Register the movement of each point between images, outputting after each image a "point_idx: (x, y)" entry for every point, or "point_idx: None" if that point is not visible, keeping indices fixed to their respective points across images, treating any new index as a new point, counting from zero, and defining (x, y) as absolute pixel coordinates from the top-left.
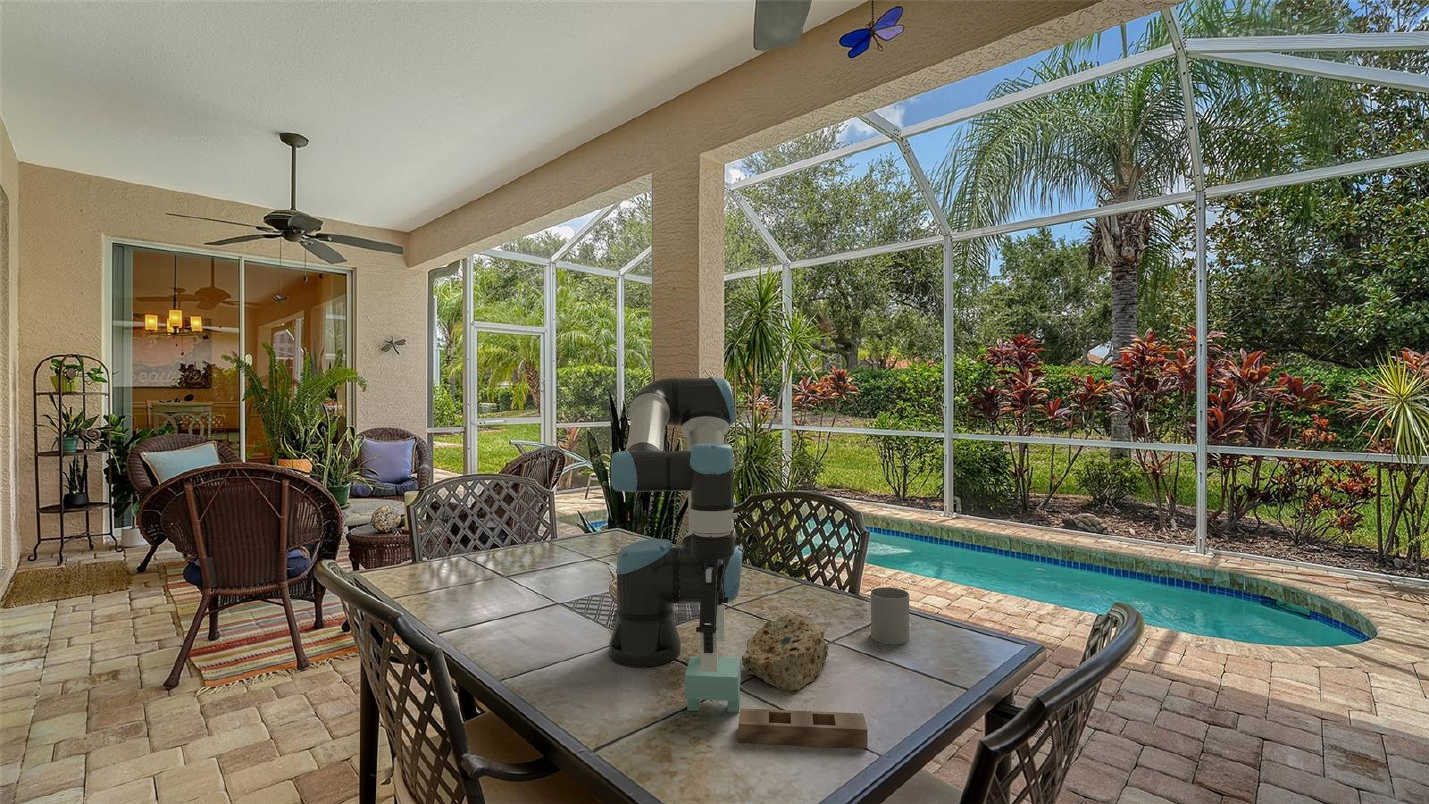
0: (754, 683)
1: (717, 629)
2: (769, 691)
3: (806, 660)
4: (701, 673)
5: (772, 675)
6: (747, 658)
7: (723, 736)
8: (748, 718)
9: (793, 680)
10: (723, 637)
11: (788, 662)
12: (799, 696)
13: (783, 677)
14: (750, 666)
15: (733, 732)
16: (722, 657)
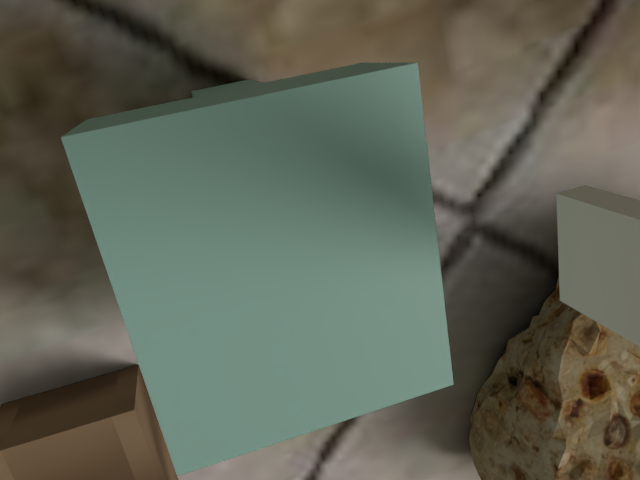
0: (509, 291)
1: (629, 286)
2: (453, 365)
3: None
4: (143, 249)
5: (508, 398)
6: None
7: (25, 331)
8: (50, 476)
9: (488, 471)
10: (578, 306)
11: None
12: (436, 469)
13: (495, 443)
14: None
15: (78, 356)
16: (436, 285)
